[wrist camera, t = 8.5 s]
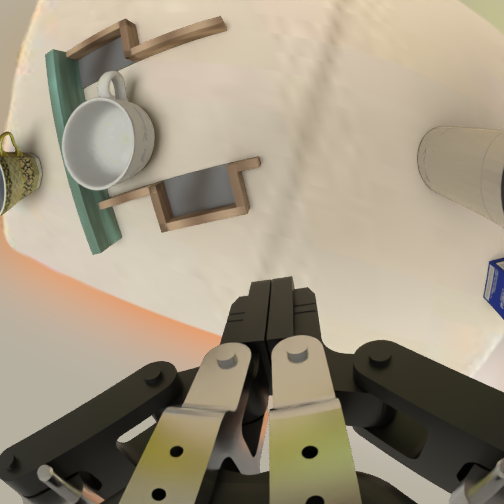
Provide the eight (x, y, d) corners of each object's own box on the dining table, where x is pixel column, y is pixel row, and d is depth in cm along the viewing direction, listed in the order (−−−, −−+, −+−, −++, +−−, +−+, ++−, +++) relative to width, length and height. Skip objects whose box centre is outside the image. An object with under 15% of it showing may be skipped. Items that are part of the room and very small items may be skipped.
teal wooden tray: (217, -5, 27) (206, -25, 21) (269, 203, 37) (267, 216, 31) (70, 59, 31) (45, 54, 25) (114, 239, 41) (92, 254, 35)
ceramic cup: (42, 211, 40) (1, 231, 31) (10, 187, 39) (-30, 202, 30) (61, 137, 35) (14, 145, 26) (25, 119, 34) (-18, 123, 25)
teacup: (150, 188, 37) (121, 203, 30) (87, 167, 37) (52, 177, 30) (181, 86, 32) (156, 76, 25) (112, 73, 32) (78, 65, 24)
